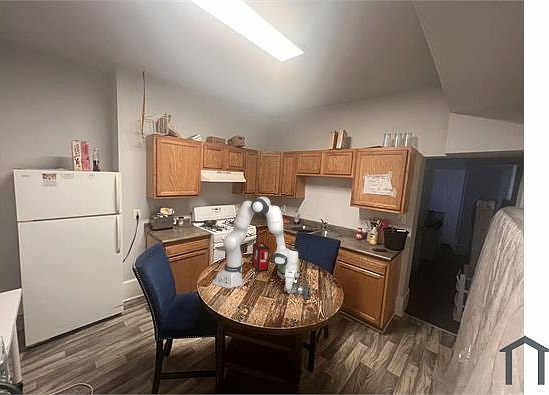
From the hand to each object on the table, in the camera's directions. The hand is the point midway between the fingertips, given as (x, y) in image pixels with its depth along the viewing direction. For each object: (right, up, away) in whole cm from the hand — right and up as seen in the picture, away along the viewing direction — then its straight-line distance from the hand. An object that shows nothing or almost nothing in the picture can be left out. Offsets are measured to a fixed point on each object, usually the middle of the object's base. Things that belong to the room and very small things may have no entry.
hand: (289, 289), depth 158 cm
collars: (+9, -3, -2) cm, 10 cm away
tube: (+5, -3, -1) cm, 6 cm away
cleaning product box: (-24, +3, +38) cm, 45 cm away
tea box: (0, 0, +26) cm, 25 cm away
